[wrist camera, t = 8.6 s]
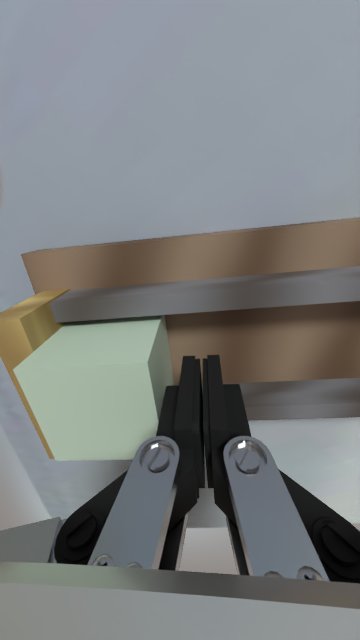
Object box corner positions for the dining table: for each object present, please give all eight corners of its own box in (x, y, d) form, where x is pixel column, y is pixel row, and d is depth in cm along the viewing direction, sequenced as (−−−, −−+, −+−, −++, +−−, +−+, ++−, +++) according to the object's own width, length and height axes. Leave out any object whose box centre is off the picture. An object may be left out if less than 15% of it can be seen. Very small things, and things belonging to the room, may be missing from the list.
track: (484, 205, 11) (710, 198, 6) (410, 397, 16) (506, 478, 11) (38, 250, 13) (-54, 271, 8) (91, 408, 18) (52, 482, 13)
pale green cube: (163, 309, 13) (147, 362, 8) (173, 383, 15) (165, 459, 10) (75, 315, 13) (12, 369, 9) (97, 386, 15) (55, 460, 11)
